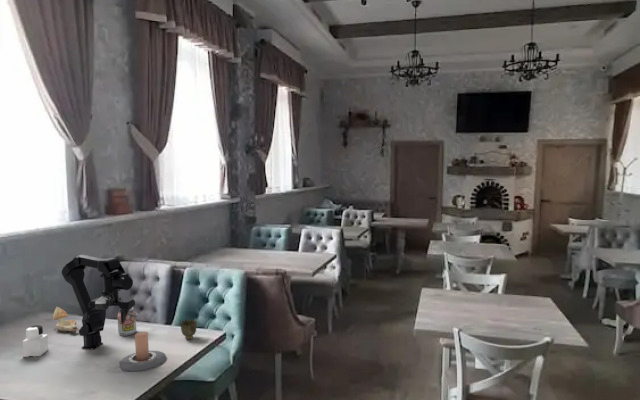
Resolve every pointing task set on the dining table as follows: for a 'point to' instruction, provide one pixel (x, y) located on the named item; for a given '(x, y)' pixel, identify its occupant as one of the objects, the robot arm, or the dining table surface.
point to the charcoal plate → (134, 368)
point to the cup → (188, 328)
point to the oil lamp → (64, 325)
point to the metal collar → (132, 362)
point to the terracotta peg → (141, 346)
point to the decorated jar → (127, 323)
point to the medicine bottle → (35, 342)
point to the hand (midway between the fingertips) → (113, 322)
